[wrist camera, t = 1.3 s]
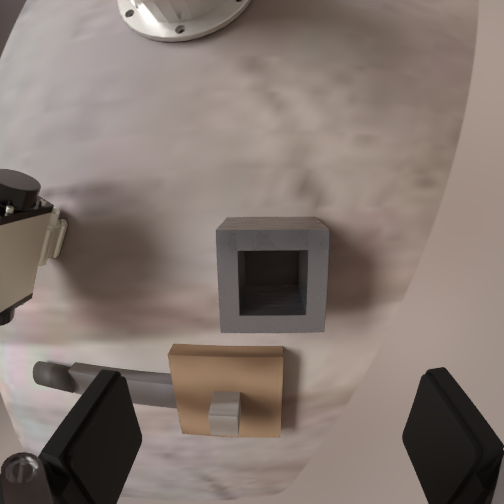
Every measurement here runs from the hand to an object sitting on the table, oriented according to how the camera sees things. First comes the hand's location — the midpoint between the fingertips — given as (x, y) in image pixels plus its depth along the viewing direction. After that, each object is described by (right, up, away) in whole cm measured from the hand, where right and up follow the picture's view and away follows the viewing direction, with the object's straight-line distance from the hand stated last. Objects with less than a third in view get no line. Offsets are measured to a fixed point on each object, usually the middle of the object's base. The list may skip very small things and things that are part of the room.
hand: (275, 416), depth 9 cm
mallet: (-11, -8, +21) cm, 26 cm away
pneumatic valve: (-20, +7, +18) cm, 28 cm away
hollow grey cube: (+1, +4, +18) cm, 18 cm away
